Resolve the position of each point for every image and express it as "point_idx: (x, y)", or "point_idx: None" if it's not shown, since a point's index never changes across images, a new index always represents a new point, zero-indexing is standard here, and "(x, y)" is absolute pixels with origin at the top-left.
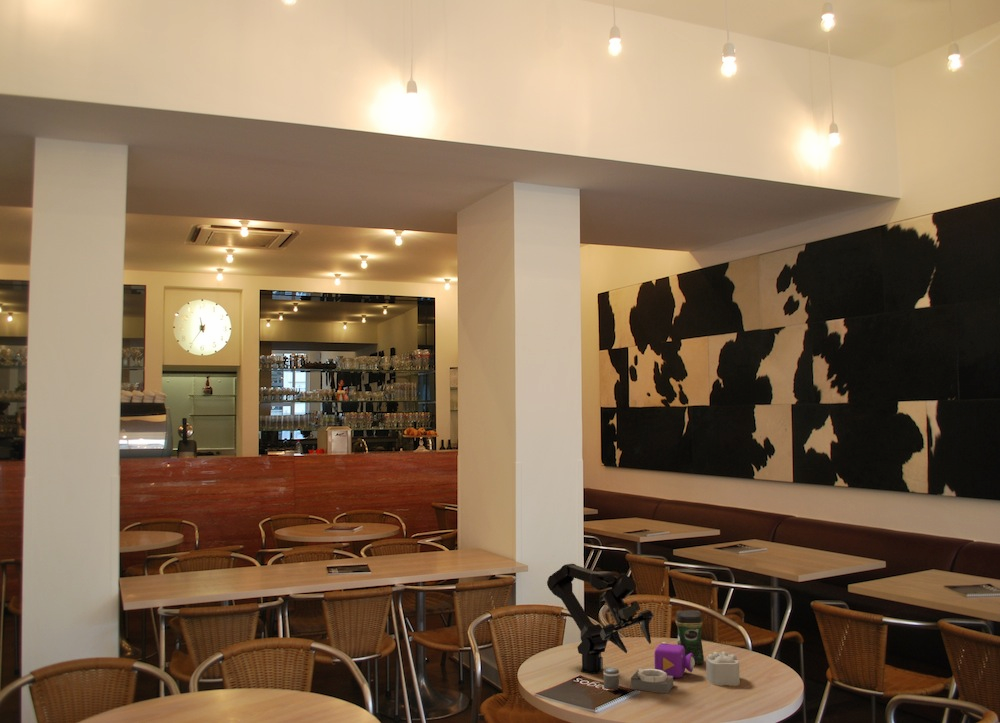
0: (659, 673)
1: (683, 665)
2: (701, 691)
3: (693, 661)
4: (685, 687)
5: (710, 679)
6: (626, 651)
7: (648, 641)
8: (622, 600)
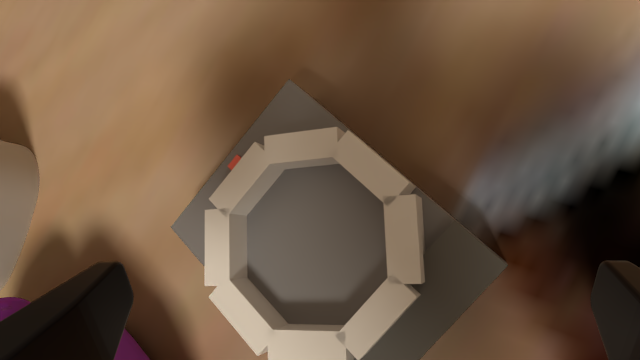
0: (238, 264)
1: None
2: (134, 89)
3: None
4: (169, 171)
5: (19, 188)
6: (623, 264)
7: (114, 321)
8: None
